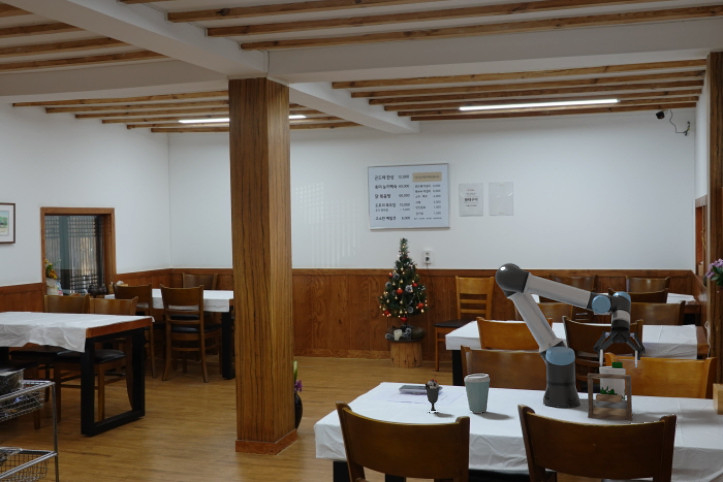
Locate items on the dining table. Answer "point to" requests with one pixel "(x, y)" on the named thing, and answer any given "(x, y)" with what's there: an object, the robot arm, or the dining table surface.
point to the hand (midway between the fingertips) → (618, 365)
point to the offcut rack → (610, 400)
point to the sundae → (432, 392)
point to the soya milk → (613, 380)
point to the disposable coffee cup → (477, 391)
